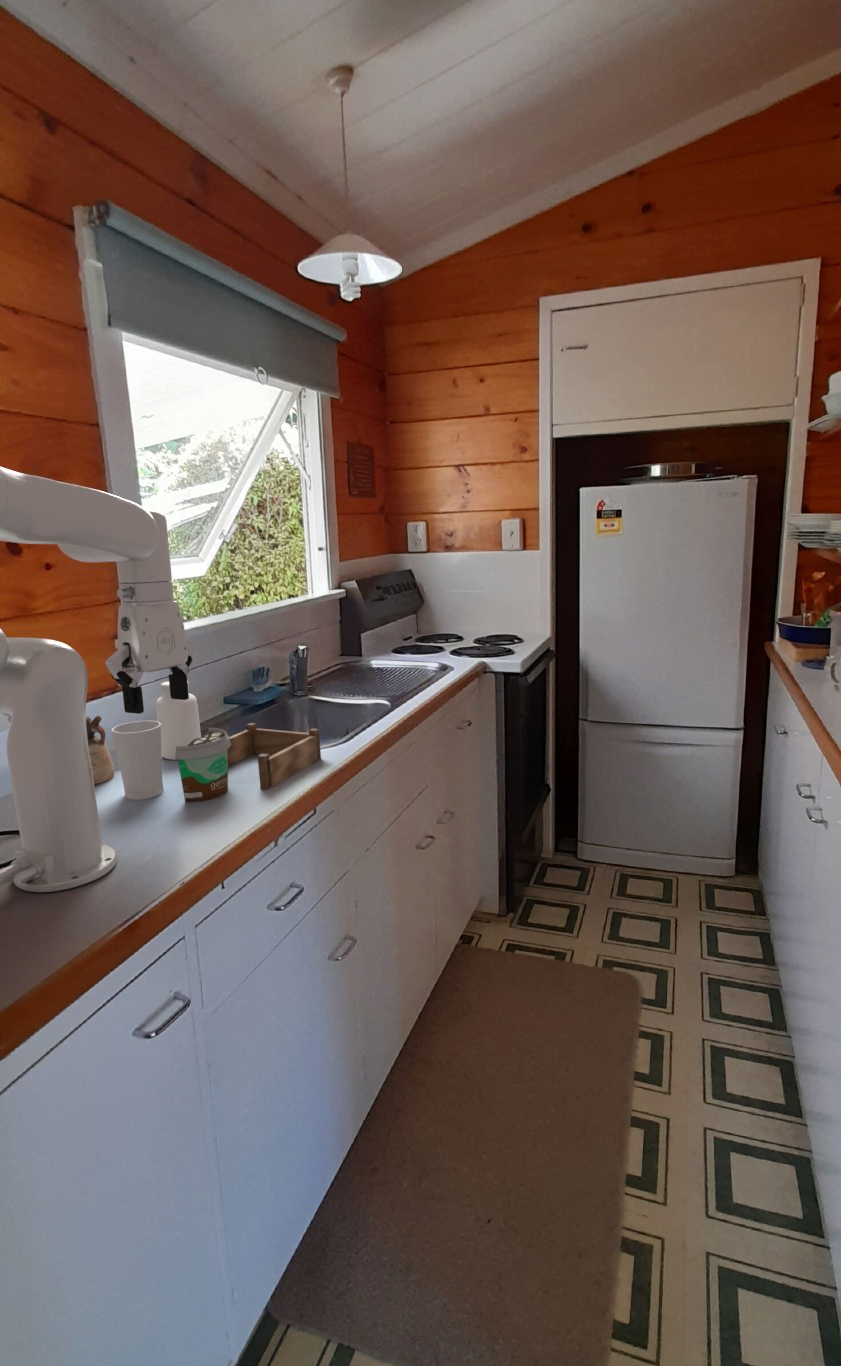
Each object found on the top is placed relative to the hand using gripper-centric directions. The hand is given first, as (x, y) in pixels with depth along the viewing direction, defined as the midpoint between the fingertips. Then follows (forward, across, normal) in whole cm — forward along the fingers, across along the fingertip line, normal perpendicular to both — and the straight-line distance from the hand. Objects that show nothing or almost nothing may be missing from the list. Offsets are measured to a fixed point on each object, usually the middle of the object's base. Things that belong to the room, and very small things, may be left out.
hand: (158, 705), depth 114 cm
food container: (+18, +11, 0) cm, 21 cm away
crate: (+18, +24, 0) cm, 30 cm away
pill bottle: (+18, +27, +21) cm, 39 cm away
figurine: (+18, +10, +27) cm, 34 cm away
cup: (+18, +7, +12) cm, 23 cm away
